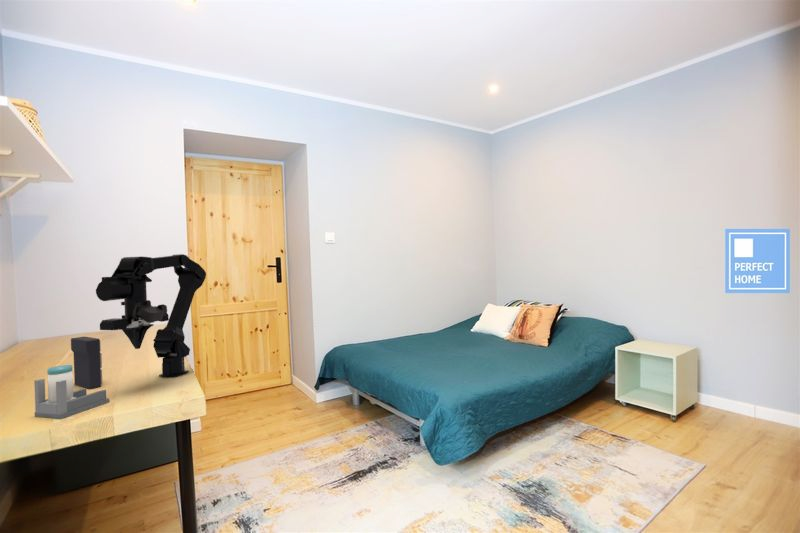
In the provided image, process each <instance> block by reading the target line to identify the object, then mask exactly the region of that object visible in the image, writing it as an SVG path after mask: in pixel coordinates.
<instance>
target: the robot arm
mask: <svg viewBox="0 0 800 533" xmlns="http://www.w3.org/2000/svg"><path fill="white" fill-rule="evenodd" d="M167 268H173V271H174V274H176V275H177V276H178V278H177V282H178V285H179V290H178V293H177V296H176V299H175V301H174V304H173V307H172V310H171V313H170V315H169V314H168V306H167V305H166V304H158V305H157V306H156V305H155V306H153V305H152V301H151V300H150V299H147V298H148V294H147V283H152V281H153V280H152V278H150V277H149V276H148V274H151V273H152V272H154V271H156V270H159V269H167ZM206 276H207V273H206V271H205V269H204V267H202V266H201V264H199V263H197V262H196V261H194V260H193V259H190V257H189V256H188V255H186V254H182V253H181V254H172V255H165V256H158V257H151V256H150V257H149V256H125V257H122V258H120V260H119V263H118V265H117V267H116V269H115V270H114V272H112V275H111V276H103V277H101V281H100V282H99V283H98V284H97V286H96V289H95V295H96V297H97V298H98V299H99V300H100V301H102V302H109V301H117V300H119V301H120V300H124V301H120V306H124V314H123V315H121V318H119V317H118V318H108V319H102V320H101V322H100V323H99V330H100V331H119V330H121V331H122V332H123V333H124V335H126V337H127V338H128V339H129V341H130V344H132V346H133V347H134V349H135V350H138V349H141V347H142V344H143V341H144V338H145V336H146V334H147V332H148V330H149V329H151V327H153V326H154V325H155V324H154V323H156V322H161V323H162V322H167V324H166V326H165V327H164V328H162V329H161V328H160V329H158V330H157V331H156V334H155V337H154V339H153V348H154V351H155V354H156V356H157V358H162V363H161V370H162V371H161V374H158V377H163V378H164V377H165V378H167V377H169V378H176V377H179V376H181V374H182V375H185V374H187V373H189V372H190V371H189V370H186V369H185V358H187V357H188V356H189V355H190V351H191V348H190V347H189V346H188V345H187V344H186V343H185V334H184V330H183V328H184V326H185V323H186V320H187V316H188V314H189V311H190V308H191V304H192V302H193V300H194V296H195V293H196V292H197V290H199V289H200V288H201V287H202V286H203V284H204V282H205V280H206ZM186 372H187V373H186ZM178 375H179V376H178Z"/></svg>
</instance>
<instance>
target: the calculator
mask: <svg viewBox="0 0 800 533" xmlns="http://www.w3.org/2000/svg"><path fill="white" fill-rule="evenodd" d="M70 349H71V352H73V374H74V375H73V376H74V377H73V382H74V385H75V386H78V387H81V388H83V389H88V390H93V389H97V388H100V387H101V386H102V385H103V368H102V367H103V365H102V364H103V363H102V362H103V361H102V360H103V358H102V353H101V350H102V349H101V340H100V338H96V337H90V336H89V337H88V336H79V337H72V338H70Z"/></svg>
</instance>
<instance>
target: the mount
mask: <svg viewBox="0 0 800 533" xmlns="http://www.w3.org/2000/svg"><path fill="white" fill-rule="evenodd" d="M45 379H46V378H39V379H35V380H34V383H33V384H34V406H35V407H34V410H35V412H34V417H38V418H48V419H58V420H60V419H61V420H63V419H66V418H68V417H71V416H74V415H76V414H79V413H82V412H85V411H88V410H90V409H93V408H96V407H99V406H102V405H105V404H107V403H110V398H109V397H107V390H106V389H101V390H98V391H95V392H91V393H89V394H87V388H80V389H77V390H73V397H76V398H75V399H72V400H69V401H67V389H66V380H61V381H57V382H56V399H57V403H49V402H46V401H48V398H46V380H45Z"/></svg>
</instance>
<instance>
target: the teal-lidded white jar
mask: <svg viewBox="0 0 800 533" xmlns="http://www.w3.org/2000/svg"><path fill="white" fill-rule="evenodd" d="M46 372H47V399H48V401H46V402H49V403H57V399H56V382H57V381H61V380H66V389H67V401H69V400H72V399H75V398H76V397H73V391H74V377H73V376H74V375H73V374H74V371H73V364H62V365H57V366H52V367H48V368H47V369H46Z"/></svg>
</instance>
